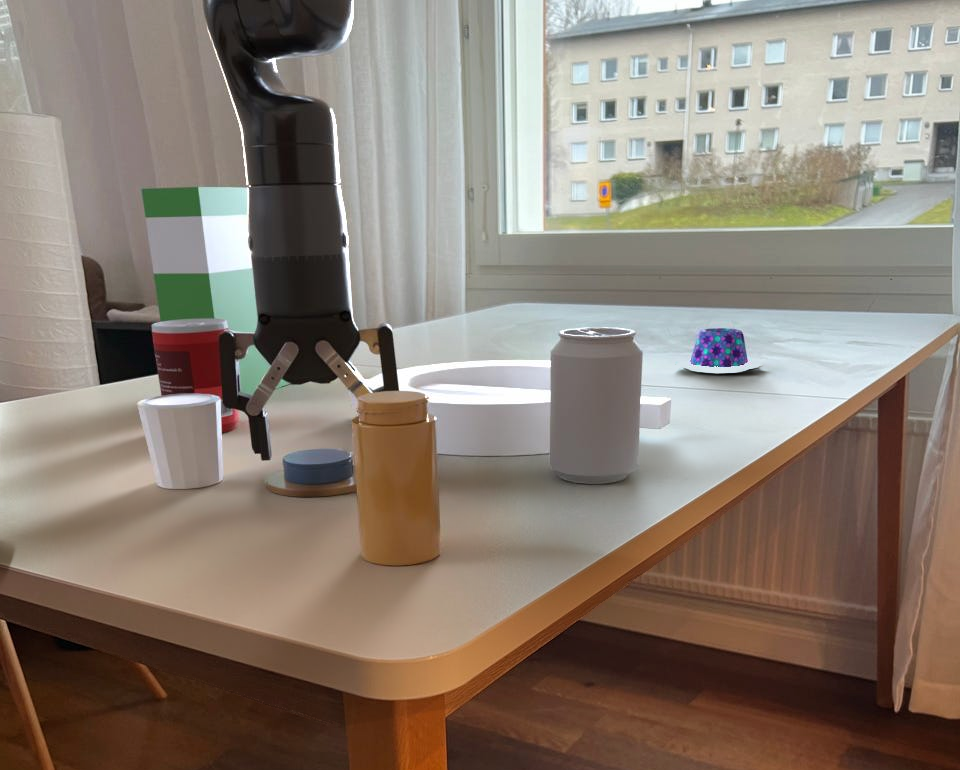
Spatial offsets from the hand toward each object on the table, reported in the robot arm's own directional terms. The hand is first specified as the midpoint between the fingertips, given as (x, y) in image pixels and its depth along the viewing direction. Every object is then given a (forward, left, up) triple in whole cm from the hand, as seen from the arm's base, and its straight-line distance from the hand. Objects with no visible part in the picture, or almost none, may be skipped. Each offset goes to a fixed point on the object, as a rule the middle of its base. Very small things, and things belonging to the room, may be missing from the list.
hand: (317, 456), depth 84 cm
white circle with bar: (+20, +19, -3) cm, 28 cm away
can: (+23, -4, -3) cm, 24 cm away
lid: (0, 0, 0) cm, 0 cm away
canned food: (-11, +27, -3) cm, 29 cm away
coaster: (0, 0, -2) cm, 2 cm away
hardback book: (-8, +50, -3) cm, 51 cm away
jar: (+4, -20, -2) cm, 21 cm away
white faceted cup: (-11, +4, -3) cm, 12 cm away
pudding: (+57, +47, -3) cm, 74 cm away
